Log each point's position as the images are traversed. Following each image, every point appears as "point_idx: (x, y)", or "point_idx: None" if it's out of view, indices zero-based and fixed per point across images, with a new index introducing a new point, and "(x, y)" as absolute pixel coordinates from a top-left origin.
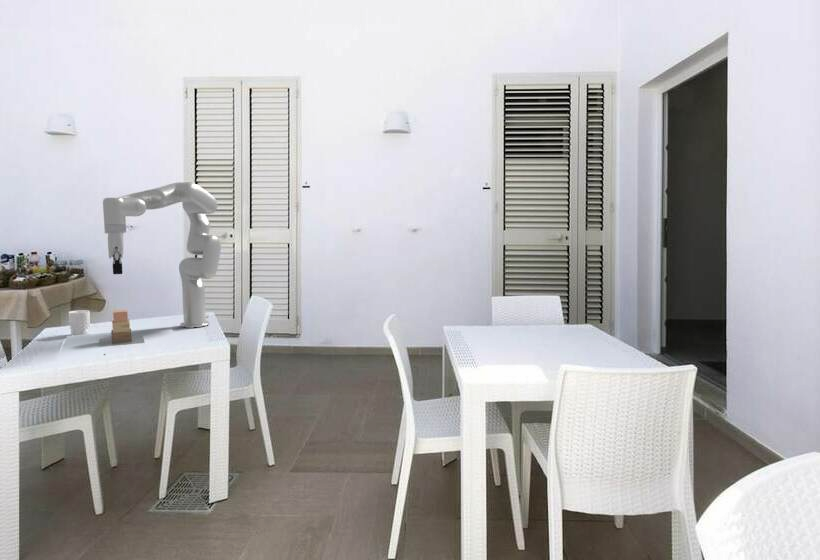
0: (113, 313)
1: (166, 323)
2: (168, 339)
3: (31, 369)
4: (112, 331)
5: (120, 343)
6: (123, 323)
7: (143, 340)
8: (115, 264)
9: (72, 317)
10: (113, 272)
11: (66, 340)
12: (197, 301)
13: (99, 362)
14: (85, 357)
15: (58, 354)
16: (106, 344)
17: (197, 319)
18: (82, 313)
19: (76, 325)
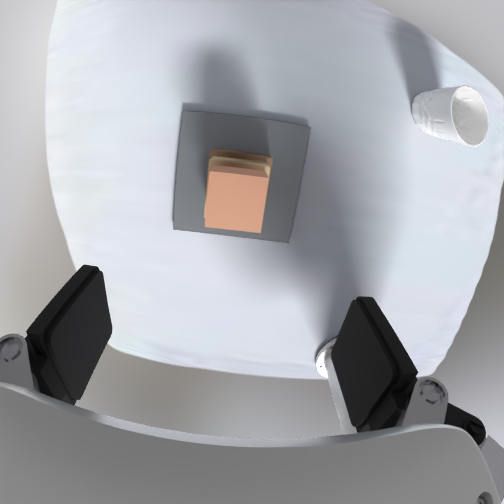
0: (210, 172)
1: (413, 311)
2: (218, 287)
3: (76, 7)
4: (242, 157)
5: (197, 169)
6: (206, 196)
7: (205, 231)
8: (22, 347)
9: (448, 89)
10: (77, 273)
11: (372, 61)
12: (336, 406)
13: (54, 121)
14: (110, 85)
15: (186, 23)
16: (206, 132)
17: (327, 370)
18: (449, 114)
19: (429, 97)
